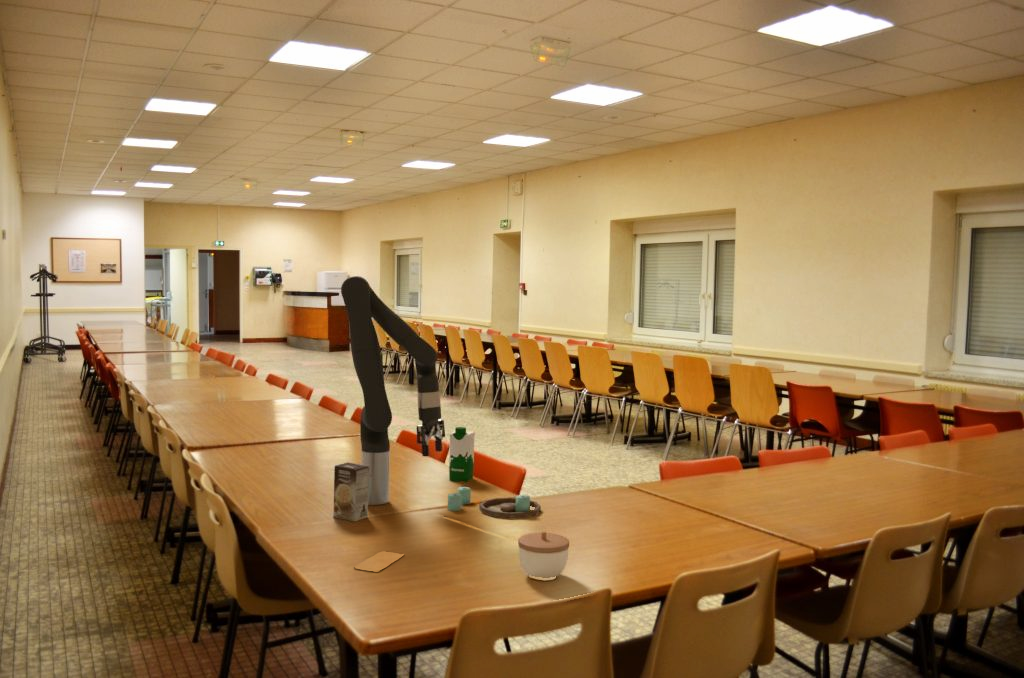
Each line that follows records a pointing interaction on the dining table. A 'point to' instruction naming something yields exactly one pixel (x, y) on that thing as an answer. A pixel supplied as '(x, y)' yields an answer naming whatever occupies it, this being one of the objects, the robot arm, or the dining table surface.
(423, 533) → the dining table surface
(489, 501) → the ring tray
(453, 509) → the bead
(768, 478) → the dining table surface
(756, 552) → the dining table surface
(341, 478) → the coffee box
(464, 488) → the bead
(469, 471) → the milk carton
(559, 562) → the lidded bowl
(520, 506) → the bead
